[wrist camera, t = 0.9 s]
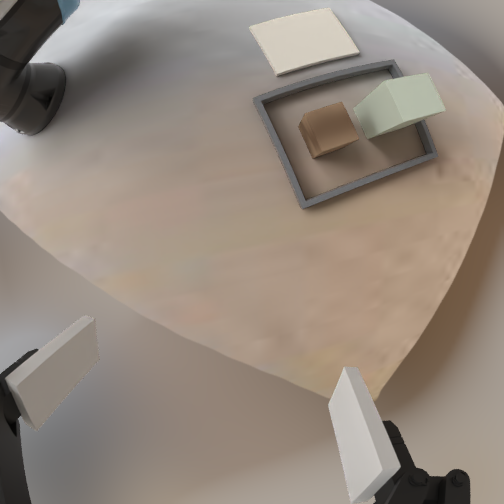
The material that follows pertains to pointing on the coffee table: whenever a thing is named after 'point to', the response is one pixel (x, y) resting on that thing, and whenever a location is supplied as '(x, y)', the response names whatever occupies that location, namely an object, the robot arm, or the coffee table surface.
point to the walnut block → (327, 129)
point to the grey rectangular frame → (325, 79)
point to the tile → (303, 40)
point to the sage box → (398, 104)
